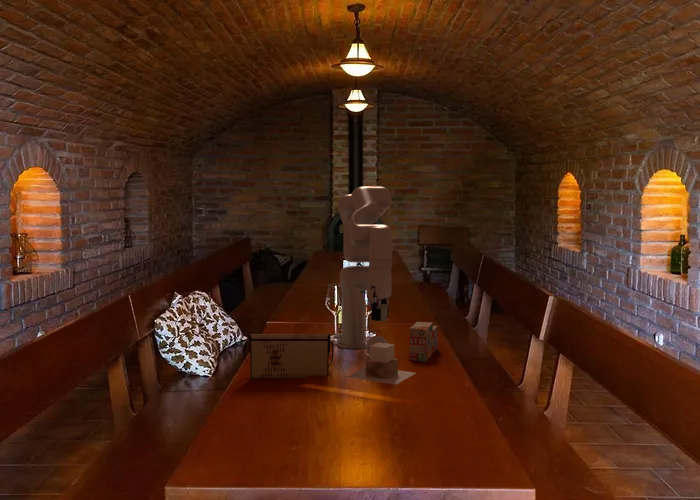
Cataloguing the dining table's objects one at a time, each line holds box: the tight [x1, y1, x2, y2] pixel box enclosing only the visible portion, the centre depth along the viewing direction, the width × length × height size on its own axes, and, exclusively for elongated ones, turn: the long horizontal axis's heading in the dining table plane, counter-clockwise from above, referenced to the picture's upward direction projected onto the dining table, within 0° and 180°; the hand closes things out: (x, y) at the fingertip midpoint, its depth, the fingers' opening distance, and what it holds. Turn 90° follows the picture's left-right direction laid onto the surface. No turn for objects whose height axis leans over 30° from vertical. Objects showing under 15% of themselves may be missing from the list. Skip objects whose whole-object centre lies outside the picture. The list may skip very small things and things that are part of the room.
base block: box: [365, 357, 399, 379], centre depth 244 cm, size 8×8×5 cm
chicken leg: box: [366, 335, 389, 356], centre depth 268 cm, size 8×18×8 cm, turn 0°
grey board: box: [346, 366, 417, 385], centre depth 244 cm, size 18×16×1 cm
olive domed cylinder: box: [372, 304, 389, 322], centre depth 243 cm, size 5×5×5 cm
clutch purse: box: [243, 333, 335, 379], centre depth 245 cm, size 30×7×15 cm, turn 92°
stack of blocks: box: [408, 321, 438, 363], centre depth 277 cm, size 21×6×12 cm, turn 162°
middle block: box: [369, 342, 395, 363], centre depth 244 cm, size 6×6×5 cm
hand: (379, 318), depth 243 cm, fingers closed on olive domed cylinder, 4 cm apart
